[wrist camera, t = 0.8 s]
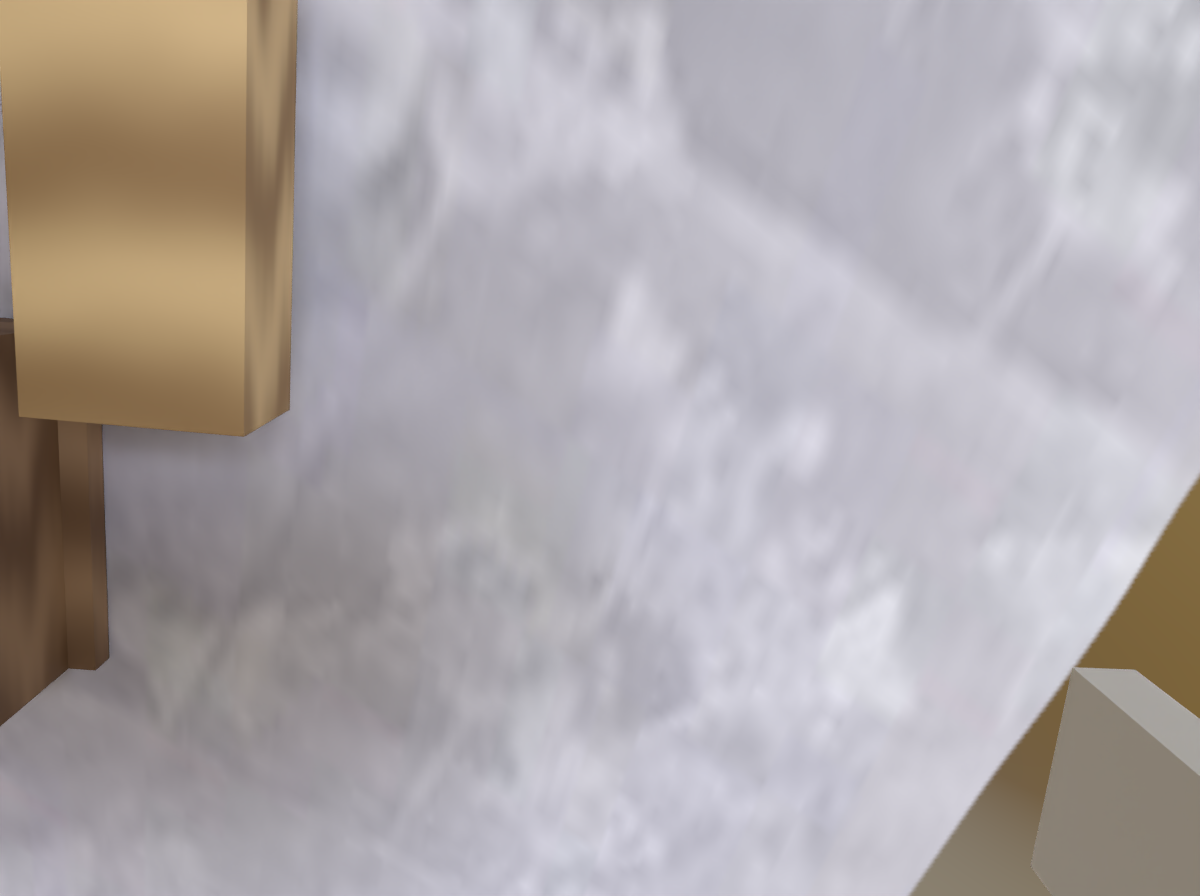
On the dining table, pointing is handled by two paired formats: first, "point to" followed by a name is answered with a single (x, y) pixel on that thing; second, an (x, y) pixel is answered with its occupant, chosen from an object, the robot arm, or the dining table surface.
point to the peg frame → (48, 545)
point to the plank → (151, 209)
